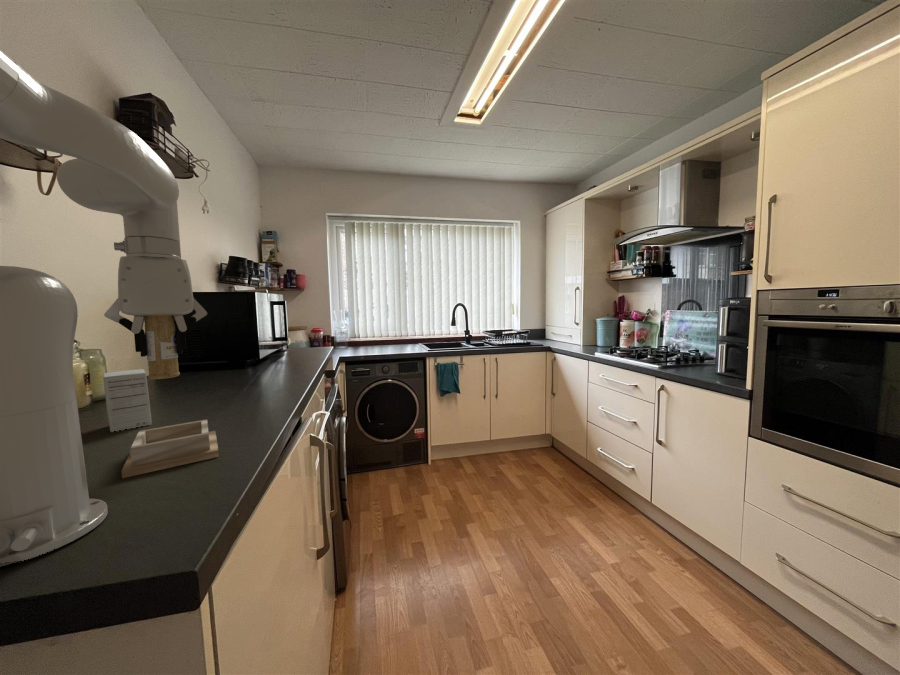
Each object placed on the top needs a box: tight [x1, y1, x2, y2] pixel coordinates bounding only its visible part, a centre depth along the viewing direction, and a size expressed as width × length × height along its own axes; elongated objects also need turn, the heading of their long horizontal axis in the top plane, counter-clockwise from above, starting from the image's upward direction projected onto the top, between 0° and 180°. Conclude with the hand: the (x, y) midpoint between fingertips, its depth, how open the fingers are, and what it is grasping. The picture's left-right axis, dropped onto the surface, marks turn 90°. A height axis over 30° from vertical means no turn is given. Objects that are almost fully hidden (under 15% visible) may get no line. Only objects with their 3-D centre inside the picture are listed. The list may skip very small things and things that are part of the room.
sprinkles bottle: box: [144, 315, 181, 380], centre depth 65 cm, size 5×5×14 cm
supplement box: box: [102, 368, 152, 433], centre depth 84 cm, size 7×7×13 cm
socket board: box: [121, 419, 220, 479], centre depth 66 cm, size 13×13×4 cm
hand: (162, 353), depth 65 cm, fingers closed on sprinkles bottle, 4 cm apart
